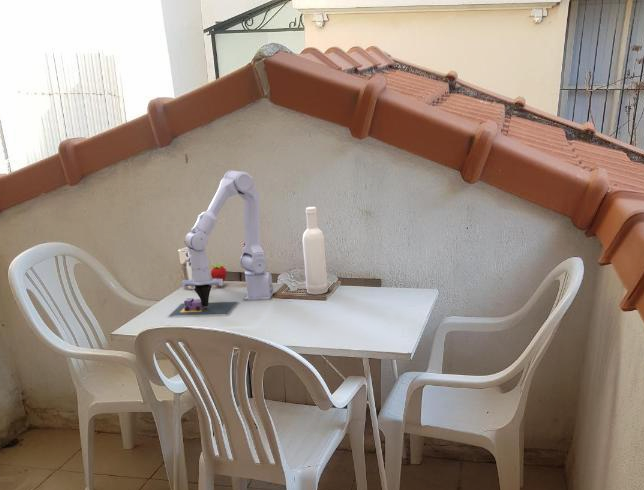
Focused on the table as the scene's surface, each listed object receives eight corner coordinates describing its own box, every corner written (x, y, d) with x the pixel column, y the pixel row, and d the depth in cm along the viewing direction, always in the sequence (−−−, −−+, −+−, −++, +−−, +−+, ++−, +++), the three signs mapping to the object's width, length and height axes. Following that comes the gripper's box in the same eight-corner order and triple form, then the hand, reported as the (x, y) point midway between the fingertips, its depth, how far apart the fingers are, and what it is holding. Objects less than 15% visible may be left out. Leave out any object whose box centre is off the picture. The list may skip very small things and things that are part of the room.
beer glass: (194, 290, 271) (187, 251, 264) (181, 288, 275) (174, 250, 268) (205, 285, 276) (199, 247, 269) (192, 284, 280) (186, 246, 273)
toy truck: (205, 306, 250) (204, 297, 248) (201, 310, 245) (199, 301, 244) (188, 306, 251) (187, 297, 249) (184, 311, 246) (182, 302, 245)
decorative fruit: (230, 283, 276) (227, 258, 271) (224, 288, 269) (220, 263, 264) (216, 283, 277) (212, 258, 272) (210, 289, 270) (206, 263, 266)
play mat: (237, 302, 252) (237, 301, 252) (227, 315, 240) (226, 314, 240) (182, 304, 255) (182, 303, 255) (169, 316, 243) (169, 315, 243)
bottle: (330, 288, 259) (324, 205, 245) (325, 294, 252) (319, 209, 238) (309, 288, 261) (302, 205, 247) (304, 294, 254) (297, 210, 240)
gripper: (176, 271, 238) (183, 309, 244) (216, 269, 236) (222, 308, 242) (182, 266, 244) (189, 303, 250) (222, 264, 242) (227, 302, 248)
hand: (206, 305), depth 247 cm, fingers closed
